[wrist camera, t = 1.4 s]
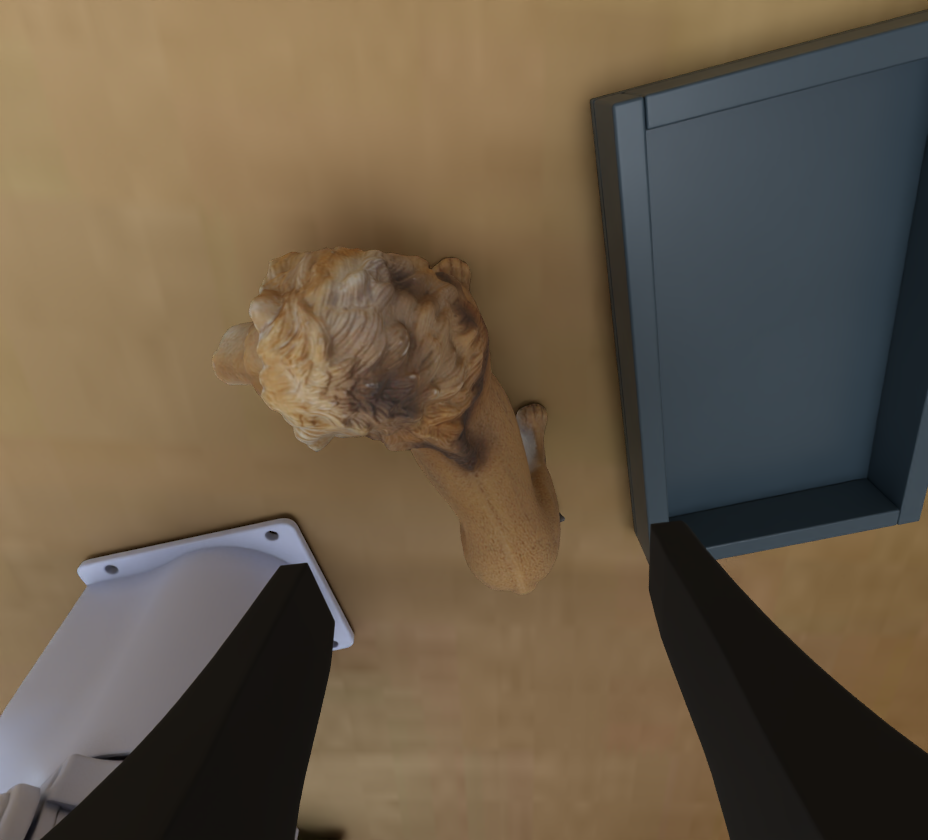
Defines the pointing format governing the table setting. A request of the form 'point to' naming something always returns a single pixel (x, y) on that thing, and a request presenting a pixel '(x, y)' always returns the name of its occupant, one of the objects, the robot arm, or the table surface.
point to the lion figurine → (404, 391)
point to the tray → (773, 289)
